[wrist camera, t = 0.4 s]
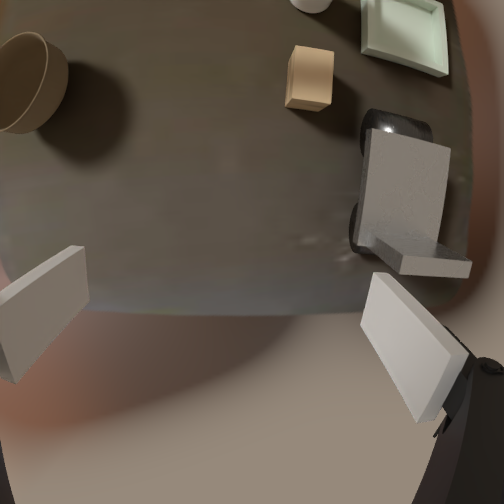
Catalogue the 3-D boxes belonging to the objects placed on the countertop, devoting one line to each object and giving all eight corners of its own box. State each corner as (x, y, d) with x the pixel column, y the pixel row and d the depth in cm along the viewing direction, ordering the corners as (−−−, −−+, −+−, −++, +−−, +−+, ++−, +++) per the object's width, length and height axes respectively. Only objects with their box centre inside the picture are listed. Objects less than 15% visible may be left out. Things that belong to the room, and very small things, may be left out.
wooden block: (288, 61, 32) (295, 45, 26) (321, 66, 32) (334, 51, 27) (284, 107, 34) (291, 98, 28) (318, 111, 34) (330, 104, 28)
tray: (360, -17, 28) (366, -25, 26) (434, 9, 28) (442, 4, 26) (360, 53, 31) (367, 47, 29) (438, 77, 32) (448, 74, 30)
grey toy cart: (350, 109, 34) (412, 85, 19) (419, 125, 34) (498, 120, 19) (335, 243, 39) (383, 296, 24) (402, 250, 39) (469, 298, 24)
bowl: (92, 40, 30) (54, 17, 20) (81, 129, 34) (37, 125, 24) (24, 58, 30) (-18, 46, 20) (15, 139, 33) (-31, 141, 24)
